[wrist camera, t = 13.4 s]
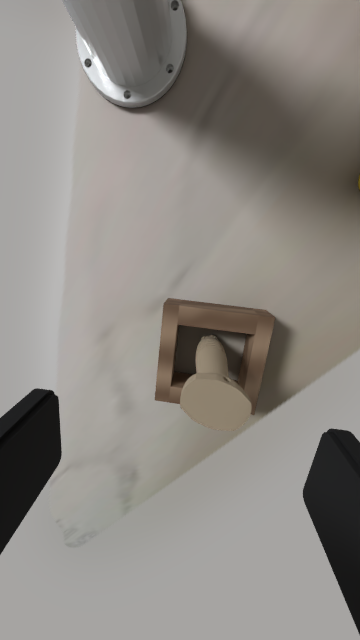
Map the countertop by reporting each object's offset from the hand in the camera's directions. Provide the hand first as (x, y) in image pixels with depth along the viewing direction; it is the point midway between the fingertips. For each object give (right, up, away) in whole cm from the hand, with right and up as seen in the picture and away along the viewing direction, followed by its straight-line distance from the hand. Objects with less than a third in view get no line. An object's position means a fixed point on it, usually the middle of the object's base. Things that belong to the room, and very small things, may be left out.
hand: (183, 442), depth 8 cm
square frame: (+4, 0, +27) cm, 28 cm away
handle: (+4, +1, +27) cm, 28 cm away
